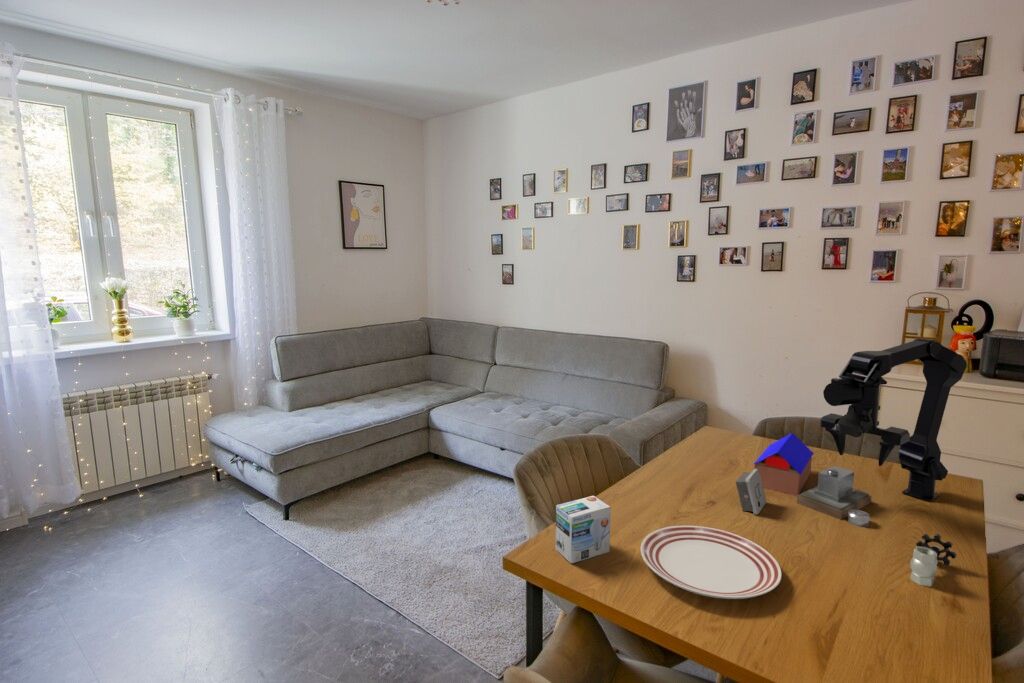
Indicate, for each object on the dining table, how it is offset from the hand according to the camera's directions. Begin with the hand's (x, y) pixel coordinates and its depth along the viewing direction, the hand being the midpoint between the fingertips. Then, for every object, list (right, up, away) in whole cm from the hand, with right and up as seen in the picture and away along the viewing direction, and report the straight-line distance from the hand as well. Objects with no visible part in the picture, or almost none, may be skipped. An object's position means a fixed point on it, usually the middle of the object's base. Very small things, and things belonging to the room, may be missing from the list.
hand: (860, 460), depth 135 cm
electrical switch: (-28, -13, +1) cm, 31 cm away
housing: (-5, -10, +3) cm, 11 cm away
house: (-11, -10, +18) cm, 23 cm away
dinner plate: (-49, -17, -26) cm, 58 cm away
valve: (-5, -17, -28) cm, 33 cm away
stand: (-5, -12, +3) cm, 13 cm away
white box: (-74, -16, -18) cm, 78 cm away
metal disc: (-5, -14, -7) cm, 16 cm away
